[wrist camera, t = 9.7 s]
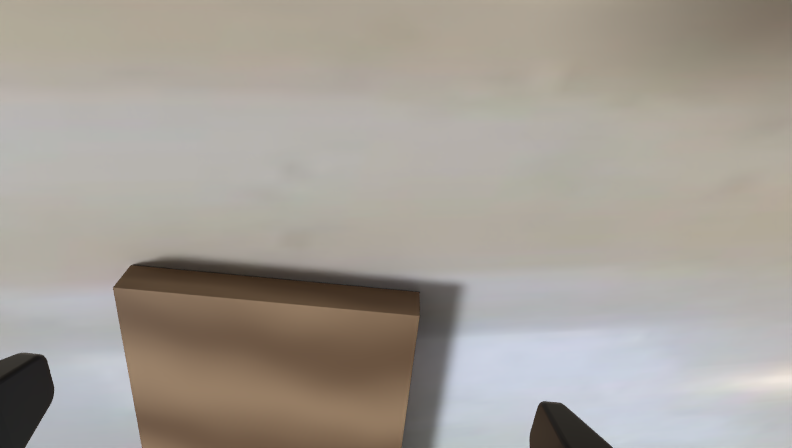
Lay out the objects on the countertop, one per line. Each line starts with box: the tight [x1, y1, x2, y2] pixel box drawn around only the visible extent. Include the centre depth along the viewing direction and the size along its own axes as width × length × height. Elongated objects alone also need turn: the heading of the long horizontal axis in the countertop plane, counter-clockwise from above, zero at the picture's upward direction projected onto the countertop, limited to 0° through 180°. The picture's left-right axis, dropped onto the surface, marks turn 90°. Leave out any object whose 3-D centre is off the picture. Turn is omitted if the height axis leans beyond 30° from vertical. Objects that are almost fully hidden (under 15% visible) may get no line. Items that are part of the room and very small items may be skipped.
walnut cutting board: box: [113, 265, 420, 448], centre depth 27 cm, size 16×12×2 cm
